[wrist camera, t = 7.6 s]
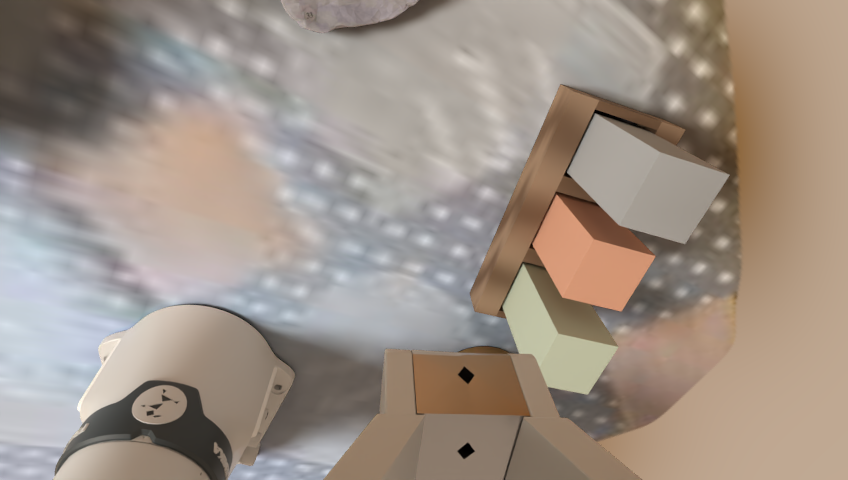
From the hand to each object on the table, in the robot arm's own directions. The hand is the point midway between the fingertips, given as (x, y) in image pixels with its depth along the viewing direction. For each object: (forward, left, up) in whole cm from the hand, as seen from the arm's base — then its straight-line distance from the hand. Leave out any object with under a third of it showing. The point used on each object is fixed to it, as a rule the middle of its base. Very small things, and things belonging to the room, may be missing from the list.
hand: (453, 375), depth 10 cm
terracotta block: (-7, -17, -30) cm, 35 cm away
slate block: (+1, -17, -29) cm, 33 cm away
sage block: (-14, -17, -29) cm, 36 cm away
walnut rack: (-6, -17, -31) cm, 36 cm away
